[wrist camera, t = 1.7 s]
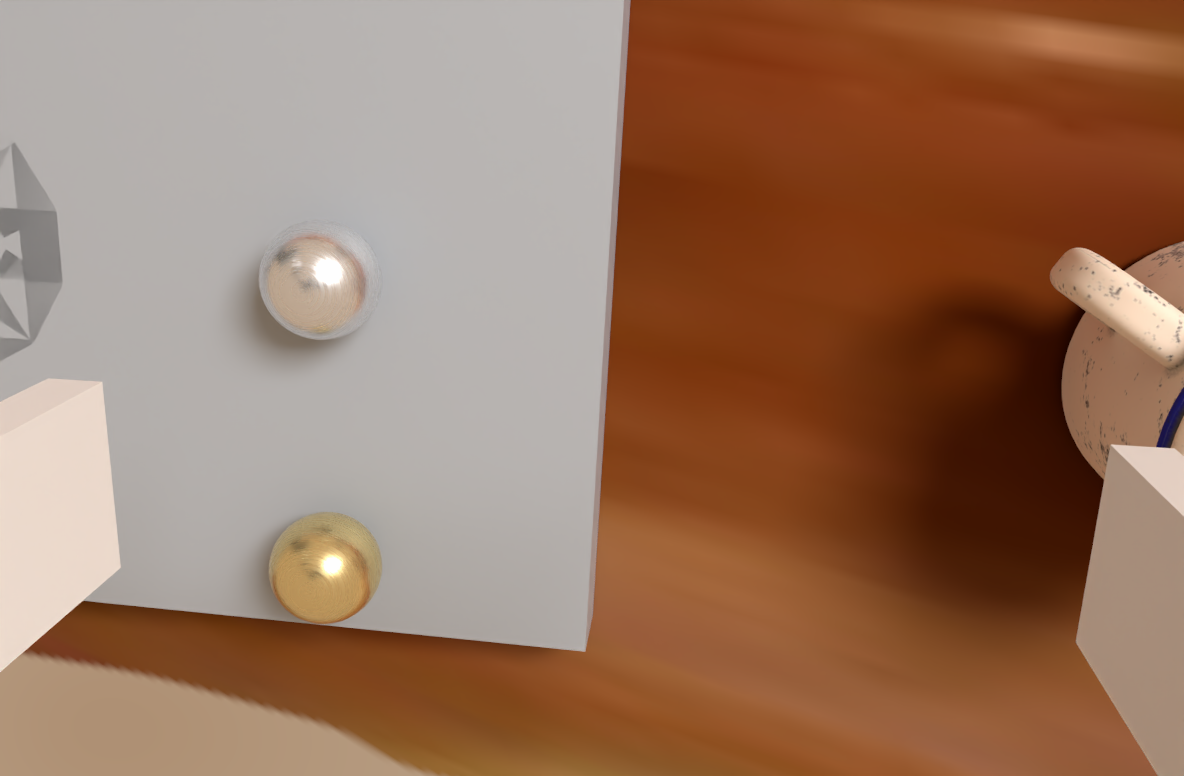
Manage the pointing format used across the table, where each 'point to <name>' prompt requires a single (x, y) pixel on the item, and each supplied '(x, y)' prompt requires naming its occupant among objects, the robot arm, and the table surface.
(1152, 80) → the table surface
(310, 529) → the brass ball
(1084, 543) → the table surface
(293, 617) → the plate
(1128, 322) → the teacup with lid
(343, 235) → the steel ball
